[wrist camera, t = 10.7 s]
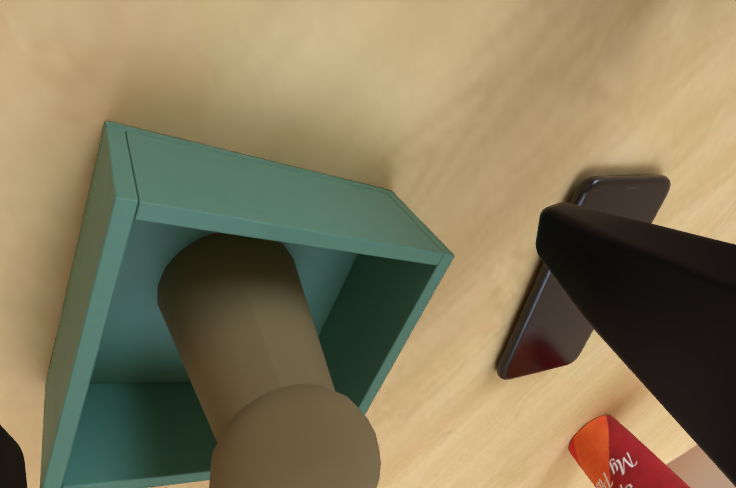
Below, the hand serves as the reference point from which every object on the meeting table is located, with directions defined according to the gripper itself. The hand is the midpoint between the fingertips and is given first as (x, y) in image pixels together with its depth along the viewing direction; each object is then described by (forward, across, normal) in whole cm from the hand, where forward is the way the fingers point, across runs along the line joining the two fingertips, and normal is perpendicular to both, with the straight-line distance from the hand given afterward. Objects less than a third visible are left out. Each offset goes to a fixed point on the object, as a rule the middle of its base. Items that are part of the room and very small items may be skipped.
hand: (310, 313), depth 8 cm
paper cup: (+13, -28, +43) cm, 53 cm away
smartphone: (+13, -20, +19) cm, 30 cm away
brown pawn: (+12, +1, +9) cm, 16 cm away
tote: (+13, +1, +9) cm, 16 cm away
